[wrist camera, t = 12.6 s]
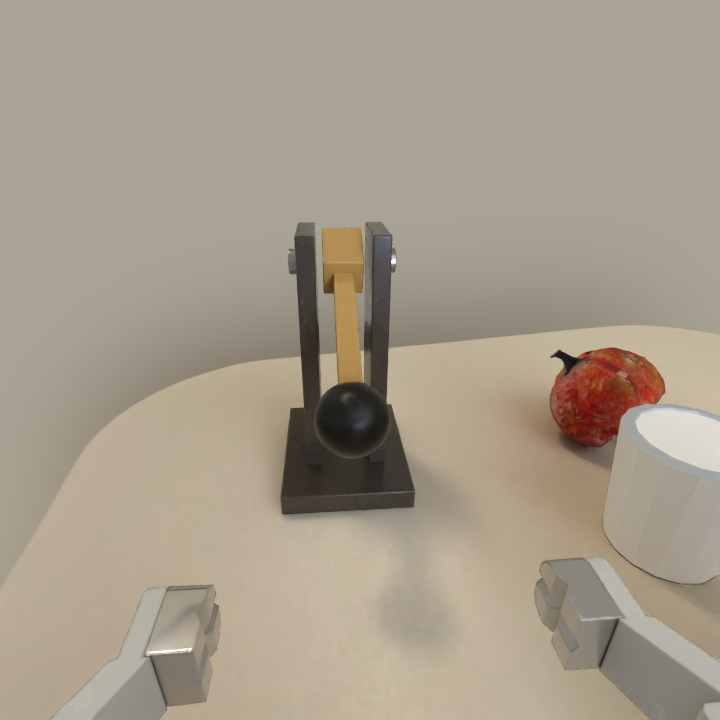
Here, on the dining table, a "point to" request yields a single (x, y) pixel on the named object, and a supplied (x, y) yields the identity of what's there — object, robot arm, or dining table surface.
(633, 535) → the white cup
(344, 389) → the latch lever
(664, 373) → the dining table surface
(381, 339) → the grey lever stand
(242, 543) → the dining table surface
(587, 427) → the pomegranate
